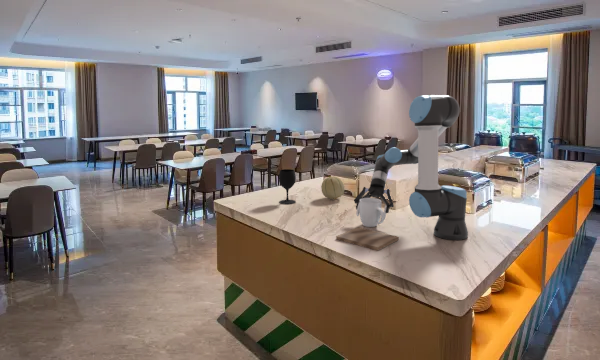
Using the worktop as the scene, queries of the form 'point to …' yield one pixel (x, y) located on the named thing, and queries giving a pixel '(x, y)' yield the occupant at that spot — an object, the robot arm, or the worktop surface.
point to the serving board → (367, 238)
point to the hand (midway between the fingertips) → (370, 216)
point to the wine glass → (287, 183)
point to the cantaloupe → (332, 187)
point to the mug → (371, 211)
